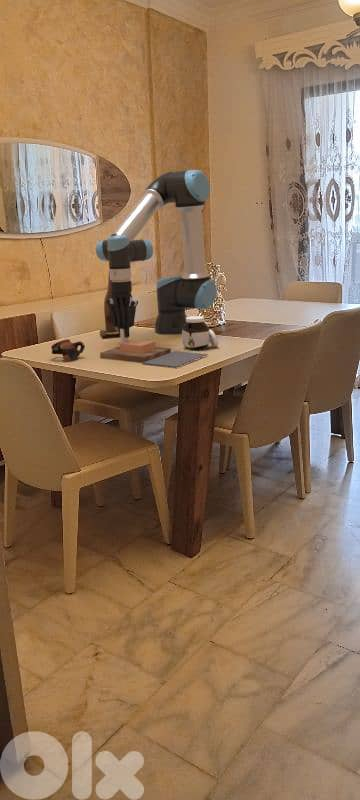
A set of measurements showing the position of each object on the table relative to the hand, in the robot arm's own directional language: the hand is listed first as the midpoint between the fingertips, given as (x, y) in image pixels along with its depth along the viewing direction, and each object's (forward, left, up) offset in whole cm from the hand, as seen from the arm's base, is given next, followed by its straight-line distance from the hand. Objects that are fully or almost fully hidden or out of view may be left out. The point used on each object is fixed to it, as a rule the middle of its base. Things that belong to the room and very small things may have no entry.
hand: (124, 345), depth 232 cm
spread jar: (-21, +20, -4) cm, 29 cm away
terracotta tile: (0, +6, -1) cm, 6 cm away
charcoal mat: (0, +22, -3) cm, 22 cm away
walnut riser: (0, +5, -3) cm, 6 cm away
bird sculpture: (-28, -28, -4) cm, 40 cm away
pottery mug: (+14, -15, -4) cm, 21 cm away
